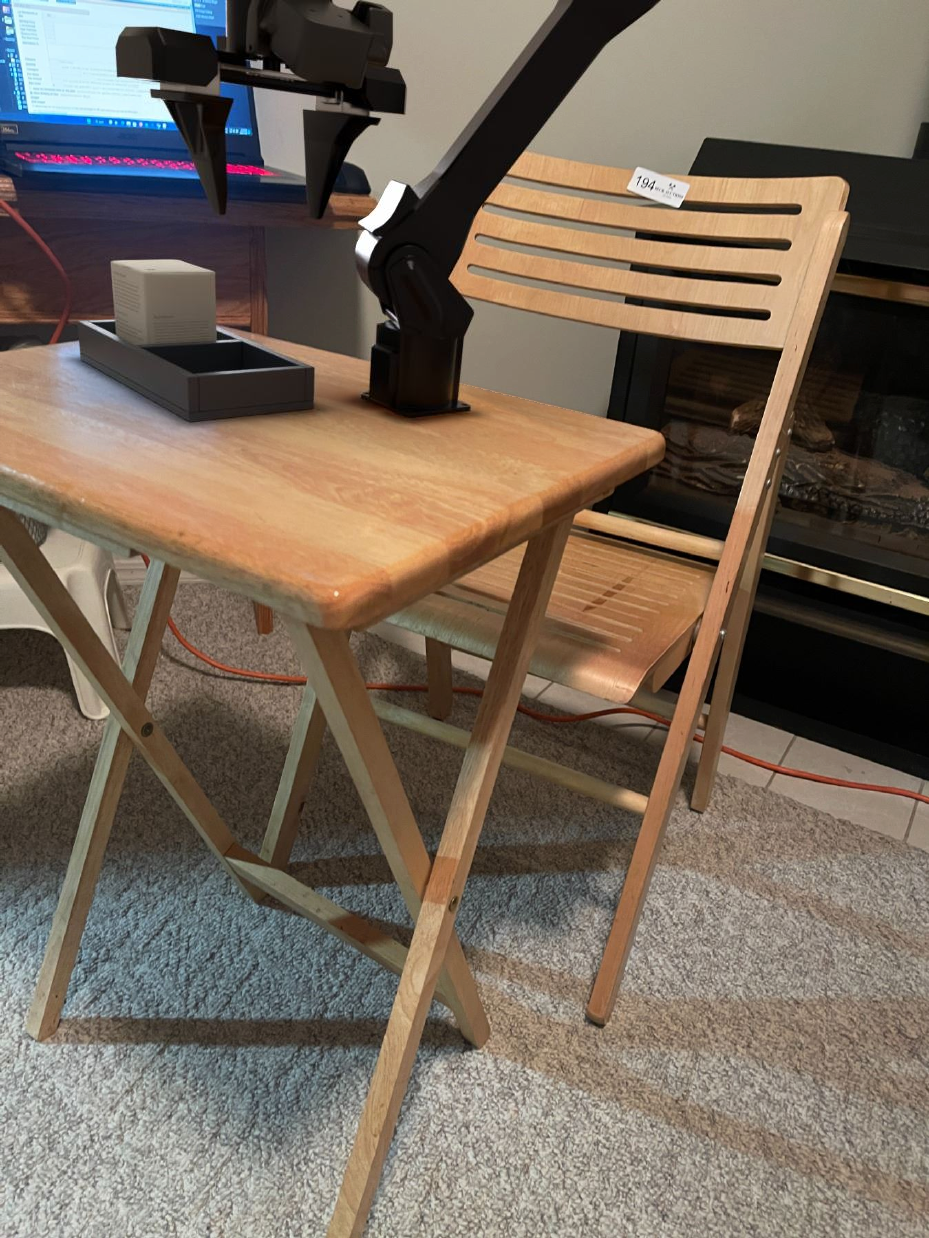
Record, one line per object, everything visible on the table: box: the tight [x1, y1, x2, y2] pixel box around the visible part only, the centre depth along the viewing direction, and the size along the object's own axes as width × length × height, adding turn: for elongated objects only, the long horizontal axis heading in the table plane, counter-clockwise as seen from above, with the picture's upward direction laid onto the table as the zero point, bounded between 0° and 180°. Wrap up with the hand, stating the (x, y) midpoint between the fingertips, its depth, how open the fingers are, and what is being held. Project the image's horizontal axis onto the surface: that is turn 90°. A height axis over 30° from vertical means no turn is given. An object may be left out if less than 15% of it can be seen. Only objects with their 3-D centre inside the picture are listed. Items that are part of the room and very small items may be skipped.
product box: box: [110, 259, 217, 345], centre depth 75 cm, size 6×6×7 cm
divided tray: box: [76, 319, 316, 423], centre depth 73 cm, size 10×19×3 cm, turn 41°
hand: (269, 217), depth 65 cm, fingers open, 7 cm apart
